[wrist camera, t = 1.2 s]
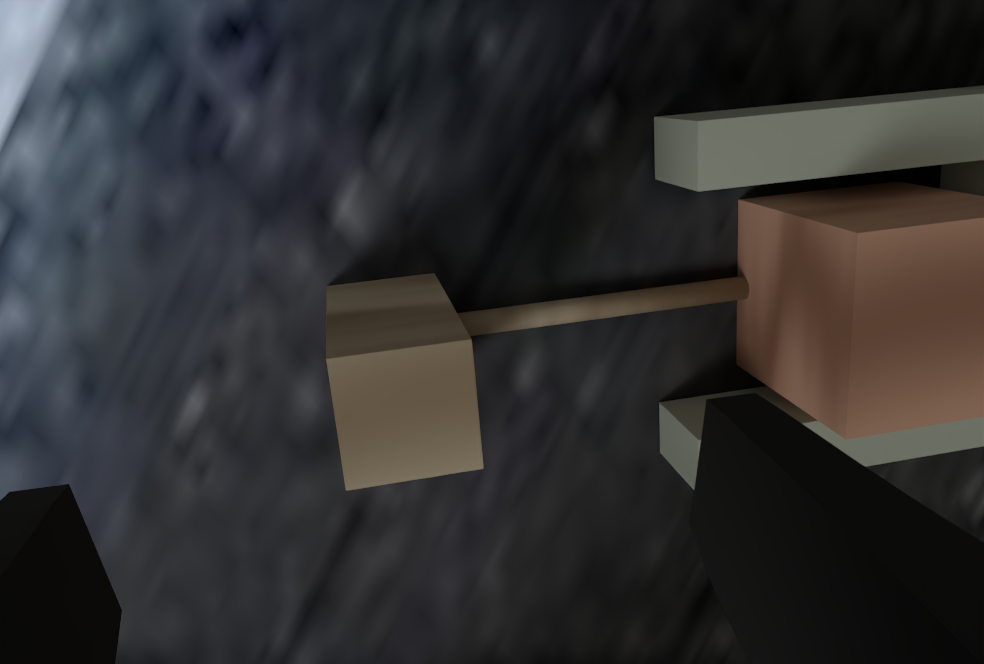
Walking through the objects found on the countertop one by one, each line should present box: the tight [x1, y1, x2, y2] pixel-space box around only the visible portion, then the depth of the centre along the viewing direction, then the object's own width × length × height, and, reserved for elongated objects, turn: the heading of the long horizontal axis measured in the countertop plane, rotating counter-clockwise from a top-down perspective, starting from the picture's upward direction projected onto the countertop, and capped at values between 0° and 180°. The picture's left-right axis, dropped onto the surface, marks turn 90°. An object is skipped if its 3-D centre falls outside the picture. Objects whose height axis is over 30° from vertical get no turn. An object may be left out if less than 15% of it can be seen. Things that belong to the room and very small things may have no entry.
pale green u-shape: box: [654, 85, 984, 490], centre depth 21 cm, size 9×10×2 cm
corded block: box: [326, 181, 984, 491], centre depth 19 cm, size 4×15×6 cm, turn 95°
